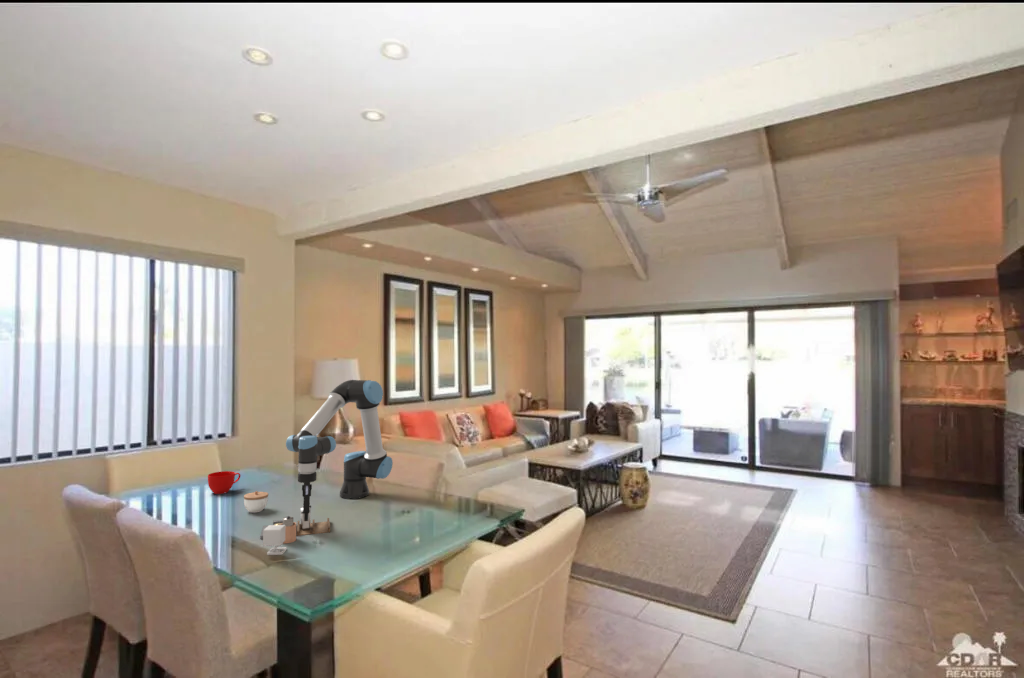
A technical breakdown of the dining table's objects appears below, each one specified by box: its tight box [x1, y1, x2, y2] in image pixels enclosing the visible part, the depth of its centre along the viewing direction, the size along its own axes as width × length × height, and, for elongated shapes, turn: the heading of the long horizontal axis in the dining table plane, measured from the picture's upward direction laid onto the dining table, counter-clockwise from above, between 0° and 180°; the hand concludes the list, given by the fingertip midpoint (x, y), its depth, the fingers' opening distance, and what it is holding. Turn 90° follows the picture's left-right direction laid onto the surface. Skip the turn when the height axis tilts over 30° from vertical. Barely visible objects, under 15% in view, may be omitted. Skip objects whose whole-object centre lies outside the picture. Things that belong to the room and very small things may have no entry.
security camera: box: [262, 524, 288, 556], centre depth 200 cm, size 6×7×10 cm
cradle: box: [259, 519, 283, 540], centre depth 223 cm, size 13×15×3 cm
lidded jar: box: [243, 490, 269, 513], centre depth 252 cm, size 11×11×9 cm
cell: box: [300, 506, 312, 530], centre depth 226 cm, size 4×4×10 cm
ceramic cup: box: [207, 470, 241, 495], centre depth 284 cm, size 13×17×10 cm
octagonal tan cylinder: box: [280, 521, 297, 544], centre depth 213 cm, size 6×6×7 cm
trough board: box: [296, 517, 331, 537], centre depth 227 cm, size 13×14×2 cm
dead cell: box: [282, 515, 294, 527], centre depth 213 cm, size 4×4×10 cm
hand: (305, 525), depth 226 cm, fingers open, 5 cm apart
